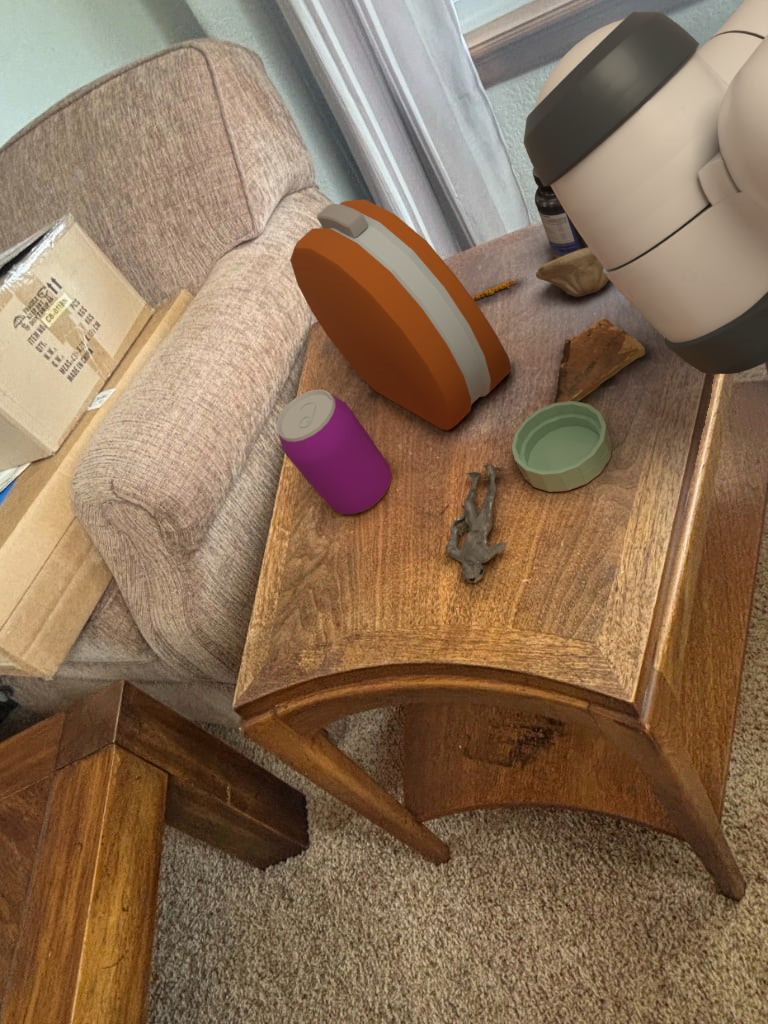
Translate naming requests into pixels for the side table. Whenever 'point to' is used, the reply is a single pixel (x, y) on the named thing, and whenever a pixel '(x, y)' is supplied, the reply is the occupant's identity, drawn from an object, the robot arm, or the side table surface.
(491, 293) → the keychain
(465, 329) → the alarm clock
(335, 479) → the beverage can
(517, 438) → the bowl
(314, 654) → the side table surface
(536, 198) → the pill bottle
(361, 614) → the side table surface
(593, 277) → the fossil
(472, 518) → the figurine
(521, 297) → the side table surface
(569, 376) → the shard
